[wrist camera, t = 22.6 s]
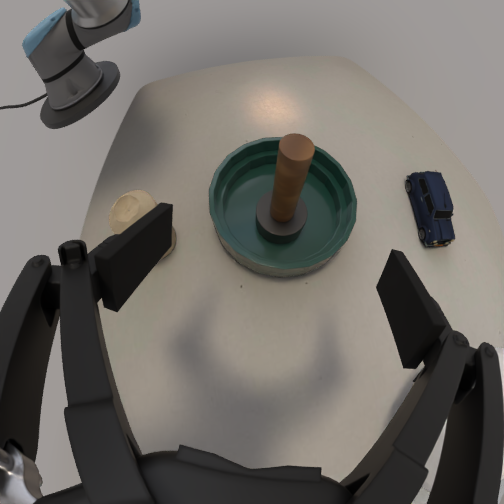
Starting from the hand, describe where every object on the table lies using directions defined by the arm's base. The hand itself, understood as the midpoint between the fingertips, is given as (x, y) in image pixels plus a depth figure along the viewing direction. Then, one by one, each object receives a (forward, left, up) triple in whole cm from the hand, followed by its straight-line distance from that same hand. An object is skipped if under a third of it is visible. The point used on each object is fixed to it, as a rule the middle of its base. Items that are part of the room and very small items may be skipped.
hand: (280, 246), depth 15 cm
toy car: (+22, +17, -18) cm, 33 cm away
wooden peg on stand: (0, +9, -17) cm, 19 cm away
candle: (-15, +4, -18) cm, 24 cm away
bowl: (0, +11, -18) cm, 21 cm away
